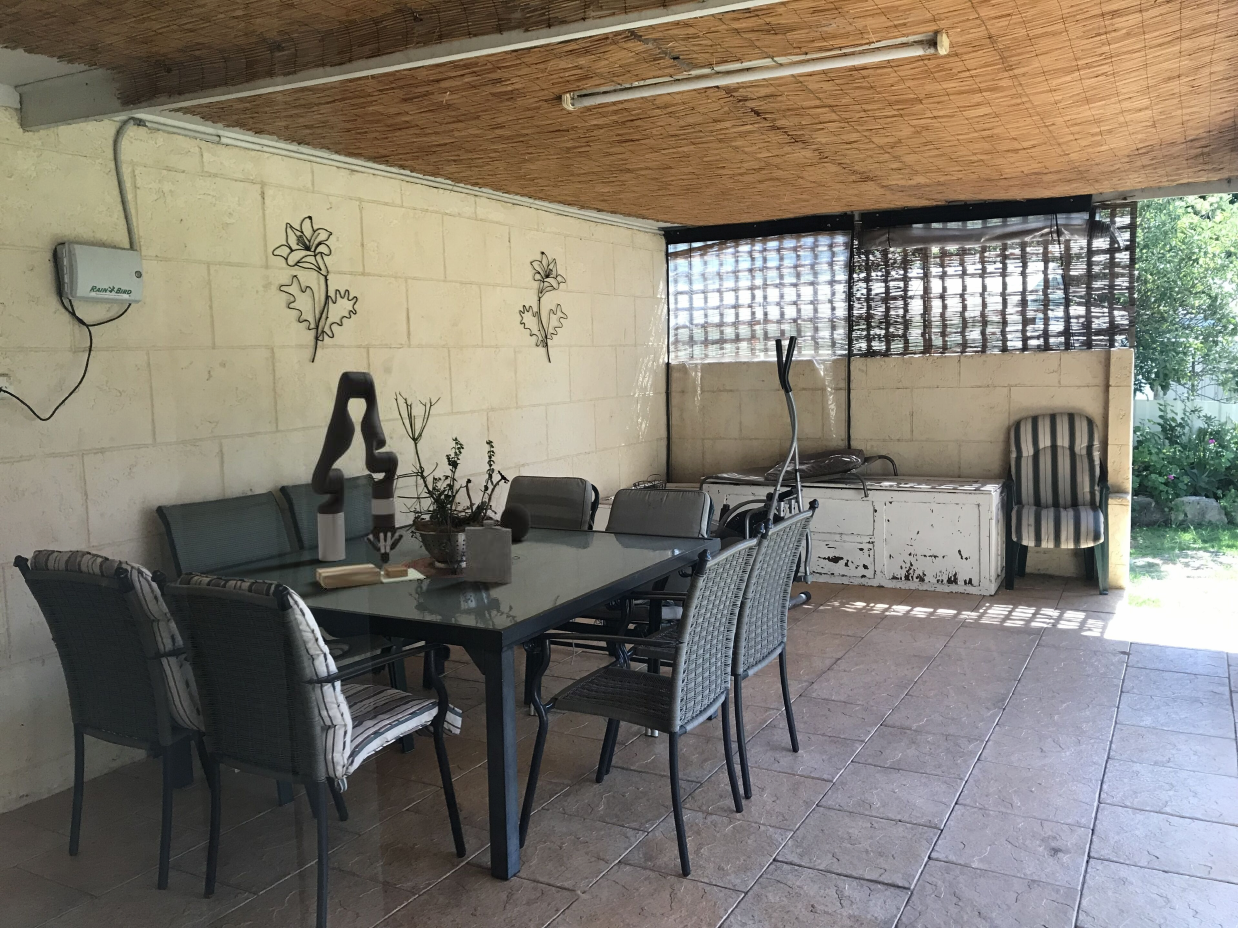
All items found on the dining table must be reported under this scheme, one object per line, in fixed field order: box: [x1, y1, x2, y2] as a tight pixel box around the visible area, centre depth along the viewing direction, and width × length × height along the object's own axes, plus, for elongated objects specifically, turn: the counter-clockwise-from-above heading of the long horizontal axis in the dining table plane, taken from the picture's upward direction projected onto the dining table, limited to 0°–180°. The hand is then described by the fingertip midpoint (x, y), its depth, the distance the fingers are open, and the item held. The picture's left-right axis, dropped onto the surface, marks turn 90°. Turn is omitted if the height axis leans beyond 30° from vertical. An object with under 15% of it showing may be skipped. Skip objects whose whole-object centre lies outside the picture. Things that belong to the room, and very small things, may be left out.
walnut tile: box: [383, 564, 409, 578], centre depth 330 cm, size 8×6×2 cm
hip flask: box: [464, 520, 513, 584], centre depth 322 cm, size 16×4×20 cm, turn 75°
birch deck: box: [315, 563, 382, 589], centre depth 323 cm, size 13×18×4 cm
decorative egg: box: [499, 503, 532, 542], centre depth 396 cm, size 12×12×15 cm
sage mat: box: [381, 567, 427, 584], centre depth 331 cm, size 16×14×1 cm
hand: (384, 563), depth 328 cm, fingers closed
